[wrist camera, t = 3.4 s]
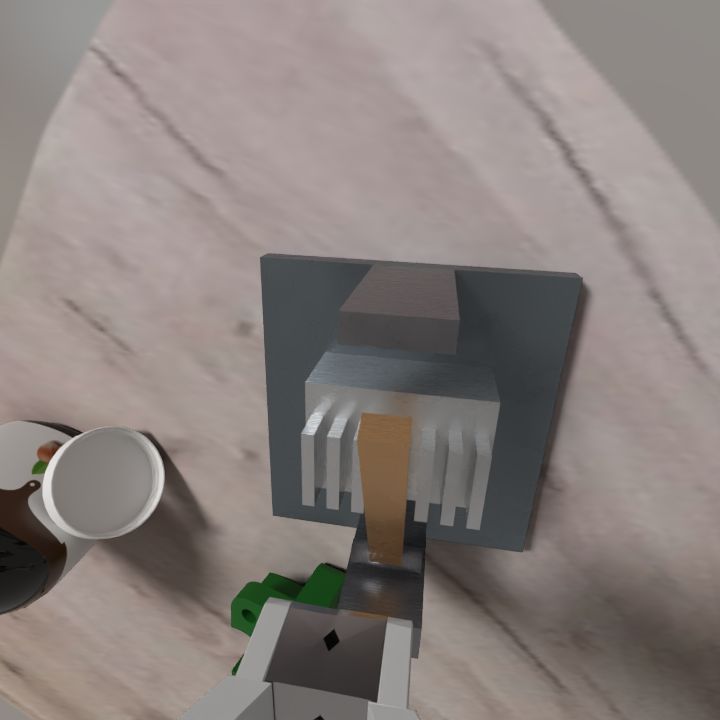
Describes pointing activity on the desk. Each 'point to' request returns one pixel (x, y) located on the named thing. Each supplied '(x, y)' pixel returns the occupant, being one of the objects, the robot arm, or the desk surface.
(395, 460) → the wooden handle
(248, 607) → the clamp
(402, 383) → the heatsink mount
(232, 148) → the desk surface
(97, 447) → the chocolate spread jar
